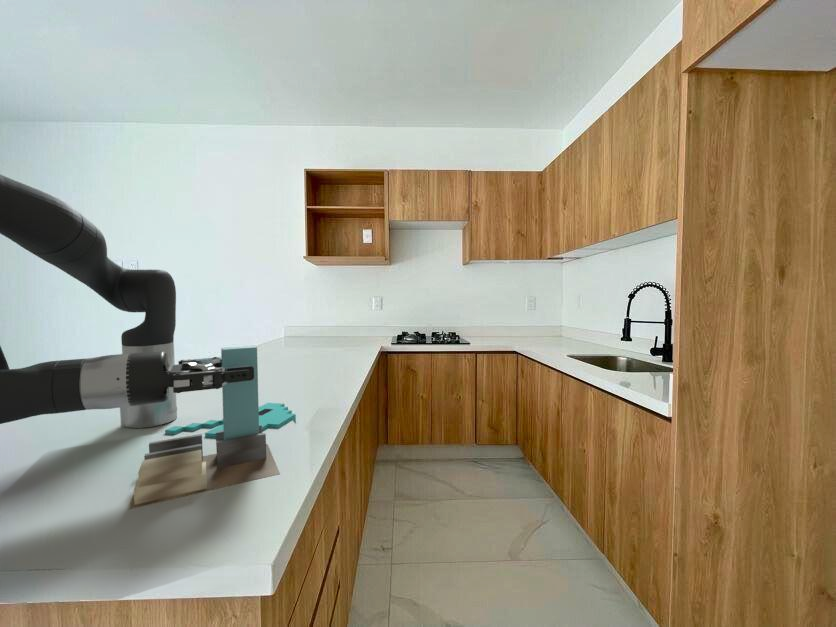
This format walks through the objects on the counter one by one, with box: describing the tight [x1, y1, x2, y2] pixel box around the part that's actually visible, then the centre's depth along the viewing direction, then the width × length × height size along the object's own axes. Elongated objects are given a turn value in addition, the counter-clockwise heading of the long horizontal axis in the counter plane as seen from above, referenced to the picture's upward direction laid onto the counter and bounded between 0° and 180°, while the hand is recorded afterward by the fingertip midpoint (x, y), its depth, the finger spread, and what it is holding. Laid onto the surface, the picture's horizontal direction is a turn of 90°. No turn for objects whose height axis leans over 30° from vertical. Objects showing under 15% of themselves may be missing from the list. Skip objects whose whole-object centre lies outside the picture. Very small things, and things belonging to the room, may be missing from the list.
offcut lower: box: [133, 462, 207, 505], centre depth 52 cm, size 8×4×2 cm, turn 119°
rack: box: [128, 424, 281, 510], centre depth 57 cm, size 18×13×5 cm
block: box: [220, 345, 260, 440], centre depth 61 cm, size 5×2×18 cm, turn 122°
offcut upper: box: [137, 450, 202, 487], centre depth 52 cm, size 7×4×2 cm, turn 119°
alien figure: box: [164, 402, 297, 439], centre depth 80 cm, size 20×2×20 cm
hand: (250, 368), depth 62 cm, fingers open, 8 cm apart
